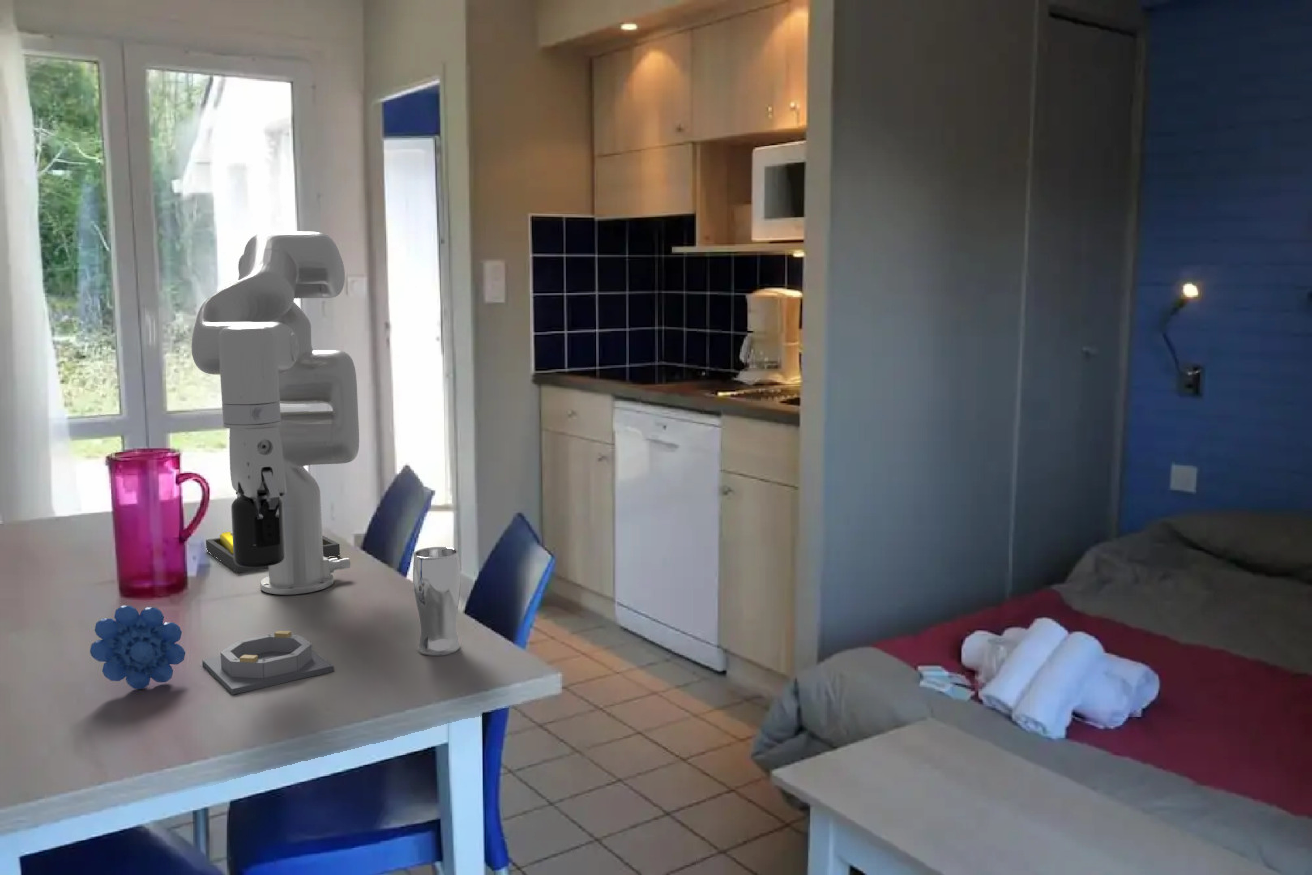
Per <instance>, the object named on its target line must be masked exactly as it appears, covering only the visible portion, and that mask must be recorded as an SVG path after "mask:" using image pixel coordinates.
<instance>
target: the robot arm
mask: <svg viewBox="0 0 1312 875" xmlns="http://www.w3.org/2000/svg"><path fill="white" fill-rule="evenodd" d="M238 260H239V261H238V263H237V264H238V266H237V269H238V270H237V271H238V279H237V280H236V281H234V282H233V283H230V284H229V285H227V286H224V288H222V289H221V290H219V291H217V292H215V293H213V294H212V295H211V296H209V297H208V298H207V299H206V300H205V301H204V302H203V303H202V304H201V306H200V307H199V310H198V313H197V316H196V319H195V324H194V327H193V332H192V336H191V356H192V359H193V362H194V363H195V366H196V367H197V368H198V370H200V371H201V372H202V373H205V374H207V375H208V374H209V375H217V376H218V375H219V376H220V391H221V406H222V422H223V424H222V425H223V428H224V429H229V435H228V436H229V438H228V440H229V441H228V442H229V451H228V452H229V471H230V472H229V473H230V481H231V487H232V488H233V490H234V491H235V495H236V499H237V498H238V497H240V493H238V482H239V484H240V485H241V489H242V490H243V492H244V494H243V495H245V496H247V497H249V498H251V499H253V501H254V506H255V511H256V516H257V519H254V526H255V543H256V546H257V547H258V548H261V547H268V546H274V545H279V544H280V530H279V510H278V507H279V504H278V501H279V498H280V499H281V501H282V504H283V524H284V552H285V557H284V559H283V561H282V562H280V563H278V564H275V565H271V566H268V568H267V569H268V575H267V576H265V577H264V578H262V579H261V581H260V583H259V585H260V586H259V588H260V589H261V591H263V592H265V593H266V594H273V595H279V596H281V595H282V596H284V595H289V596H290V595H302V594H308V593H314V592H318V591H322V590H324V589H327V588H328V587H330V586H331V585H333V584H334V575H333V573H334V572H335V571H337V570H340V571H341V570H345V569H350V568H351V560H350V558H349V557H345V558H344V557H343V558H340V559H338V557H332V558H325V557H324V556H323V539H322V535H323V524H322V522H323V521H322V503H321V502H322V501H321V500H322V499H321V489H320V486H319V483H318V482H317V481H316V479H315V478H314V477H313V475H312V474H311V473H309V471H308V470H306V468H305V467H306V466H315V465H316V466H317V465H338V464H341V465H342V464H348V463H351V462H352V461H354V460H355V459H356V458H357V456H358V453H359V450H360V425H359V424H360V423H359V406H358V402H359V400H358V384H357V383H358V382H357V381H358V380H357V371H356V367H355V364H354V360H353V358H352V356H350V355H349V354H348V353H347V352H345V351H342V350H338V349H323V350H322V349H317V350H316V349H315V350H314V349H313V346H312V325H311V321H310V320H309V317H308V316H307V315H306V313H305V312H304V311H303V310H302V309H301V308H300V307H299V305H298V304H296V302H294V301H295V299H331V298H332V299H333V298H336V297H338V296H339V295H340V294H341V293H342V291H343V289H344V287H345V279H346V275H345V266H344V261H343V258H342V255H341V254H340V251H339V249H338V246H337V244H336V243H335V241H334V240H333V239H332V238H331V237H330V235H327V234H326V233H324V232H317V231H265V232H260V233H257V234H255V235H253V236H252V237H251V238H250V239H249V240H248V241H247V242H246V245H245V247H244V251H243V254H242V255H241V256H240V258H239V259H238ZM305 404H306V405H307V404H308V405H309V404H327V405H329V406H330V407H331V408H332V410H323V411H321V410H320V411H316V410H315V411H309V410H307V411H304V410H303V411H302V410H301V411H282V412H281V405H305ZM264 492H266V494H267V495H262V496H258V495H259V494H257V493H264ZM263 501H266V502H264V503H263V506H262V508H261V503H260V502H263Z"/></svg>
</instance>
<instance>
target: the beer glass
mask: <svg viewBox="0 0 1312 875" xmlns="http://www.w3.org/2000/svg"><path fill="white" fill-rule="evenodd" d="M460 564H461V562H460V557H459V550H458V549H456V548H453V547H448V546H430V547H425V548H421V549H417V550H415V551H414V552H413V567H412V585H413V586H412V587H413V593H414V594H413V595H414V600H415V604H416V607H417V614H418V619H419V624H420V636H419V643H418V652H419V653H420V654H422V655H425V656H433V657H434V656H435V657H436V656H446V655H447V656H448V655H450V654H451V655H452V654H454V653H456V652H457V651H459V649H460V648H461V647H460V641H459V636H458V632H457V631H458V630H457V617H458V610H459V604H460V596H461V587H462V583H461V581H462V580H461V579H462V577H461V566H460Z"/></svg>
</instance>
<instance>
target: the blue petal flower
mask: <svg viewBox="0 0 1312 875" xmlns="http://www.w3.org/2000/svg"><path fill="white" fill-rule="evenodd" d="M164 619H165V616H164V614H163V612H162V611H161V610H160V609H159V608H157V607H151V606H146V607H145V608H144V609H142V610H141V611H140V612H139V611H138V609H136V608H135V607H133V606H132V605H124V604H123V605H121V606H120V607H118V608H117V609H115V613H114V618H105V617H104V618H102V619H100V620H98V621H97V622H96V623H95V626H94V632H95V635H96V636H97V637H99V639H97V640H95V641H94V642H93V643H92V644H90V650H89V653H90V656H91V657H92V658H93V659H94V660H96V661H97V662H101V663H102V662H103V666H102V670H101V671H102V674H103V676H104V677H105V678H106V679H107V680H109V681H110V682H111V681H112V682H120V681H122V680H124V679H125V681H126V683H127V685H128V686H129V687H130V688H132V689H134V690H143V689H145V688H146V687H148V686H149V685H150V682H151V679H152V680H153V681H154V682H156V683H166V682H169V681H170V680H171V679H172V678H173V672H174V669H173V667H172V666H171V665H176V666H177V665H179V664H181V663H182V662H184V661H185V656H186V652H185V648H184V647H182V646H181V645H180V644H179V643H177V642H178V641H180V640H181V638H182V632H183V631H182V629H181V627H180V626H179V625H178V624H177V623H175V622H173V621H172V622H170V621H165V622H164Z"/></svg>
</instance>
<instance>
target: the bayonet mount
mask: <svg viewBox="0 0 1312 875" xmlns="http://www.w3.org/2000/svg"><path fill="white" fill-rule="evenodd" d="M312 645H313V644H312V643H311V642H310V641H309V640H307V639H306V638H305V637H303V636H302V635H299V634H292V631H291V630H277V631H275V632H274V634H272V633H270V634H265V635H259V636H255V637H249V638H245V639H239V640H237V641H235V642H233V643H232V644H230V645H228V647H226V648H224V649H223V650H221V651H220V655H219V656H215V657H209V658H205V659H202V662H201V663H202V666H203V667H204V668H205V669H206V670H207V671H208V672H209V673H210V674H211V675H212V676H213V677H214V678H215V679H216V680H217V681H218V682H219V683H221V685H222V686H223V687H224V688H225V689H226V690H227V691H228V692H229V693H230V694H232V696H233V695H238V694H242V693H246V692H251V691H254V690H259V689H262V688H263V689H264V688H266V687H271V686H277V685H280V684H285V683H287V682H292V681H297V680H301V679H305V678H311V677H315V676H318V675H323V674H327V673H331V672H334V671H335V670H334V665H333V664H332V663H331V662H329V661H328V660H326V659H325V658H324V657H323V656H321V655H320V654H318V653H317V652H316V651H314V650H313V648H312V647H313V646H312Z"/></svg>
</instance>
